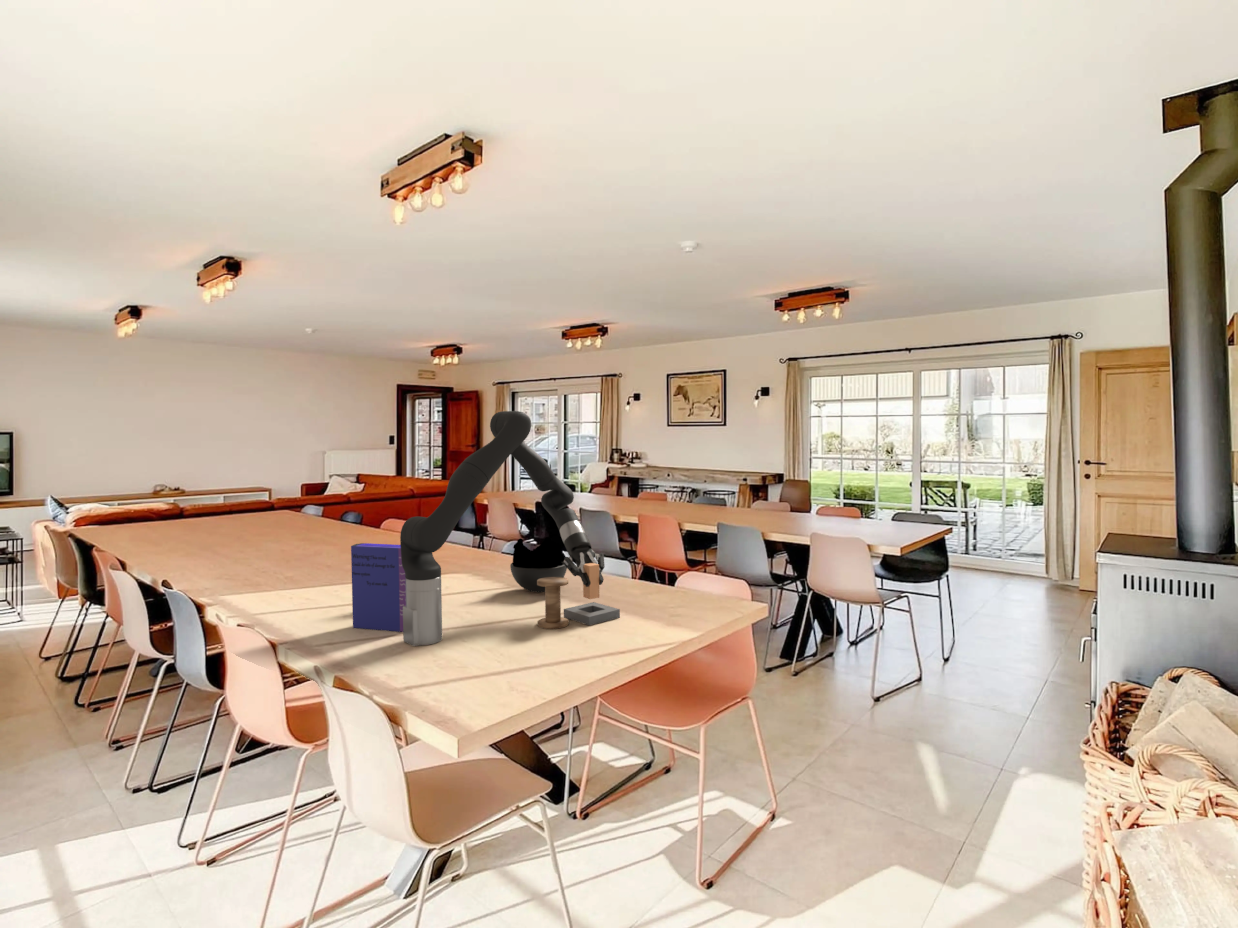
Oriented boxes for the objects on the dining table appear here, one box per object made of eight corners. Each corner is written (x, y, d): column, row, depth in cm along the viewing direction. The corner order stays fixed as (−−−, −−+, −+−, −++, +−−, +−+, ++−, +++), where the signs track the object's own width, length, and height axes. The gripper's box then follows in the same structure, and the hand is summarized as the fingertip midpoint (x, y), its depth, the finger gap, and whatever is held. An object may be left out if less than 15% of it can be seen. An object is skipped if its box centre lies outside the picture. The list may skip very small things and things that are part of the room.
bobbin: (549, 630, 182) (549, 585, 181) (531, 624, 188) (530, 580, 188) (574, 624, 188) (574, 580, 187) (556, 618, 194) (555, 575, 194)
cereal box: (415, 627, 186) (414, 544, 185) (406, 632, 181) (404, 547, 180) (363, 623, 190) (361, 542, 189) (352, 628, 186) (351, 545, 185)
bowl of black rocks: (578, 589, 232) (578, 537, 231) (543, 601, 215) (543, 545, 214) (535, 582, 243) (534, 533, 242) (498, 593, 226) (497, 540, 225)
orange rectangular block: (589, 599, 193) (589, 565, 193) (583, 596, 196) (582, 564, 195) (599, 597, 195) (599, 564, 195) (592, 595, 198) (592, 562, 197)
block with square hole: (589, 625, 187) (589, 616, 187) (563, 617, 196) (563, 608, 196) (619, 617, 195) (619, 609, 195) (593, 609, 204) (593, 601, 204)
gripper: (558, 533, 197) (578, 580, 187) (598, 529, 205) (619, 574, 195) (550, 548, 202) (570, 594, 192) (590, 543, 209) (610, 588, 200)
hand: (594, 584), depth 193 cm, fingers closed on orange rectangular block, 3 cm apart
